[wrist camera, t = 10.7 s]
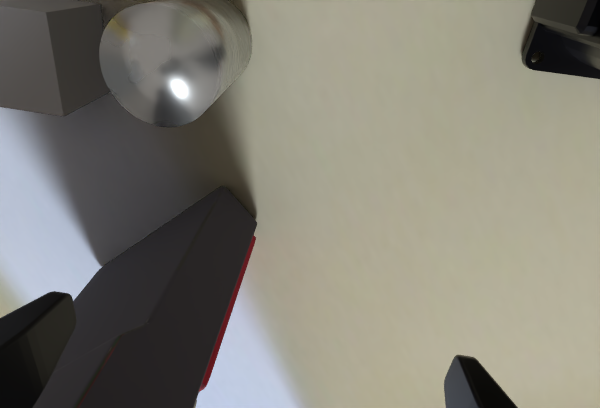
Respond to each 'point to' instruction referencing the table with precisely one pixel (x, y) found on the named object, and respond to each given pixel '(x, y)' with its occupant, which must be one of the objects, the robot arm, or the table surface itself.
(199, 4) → the metal canister
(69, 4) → the gray cube
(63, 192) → the table surface
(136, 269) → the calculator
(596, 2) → the robot arm
